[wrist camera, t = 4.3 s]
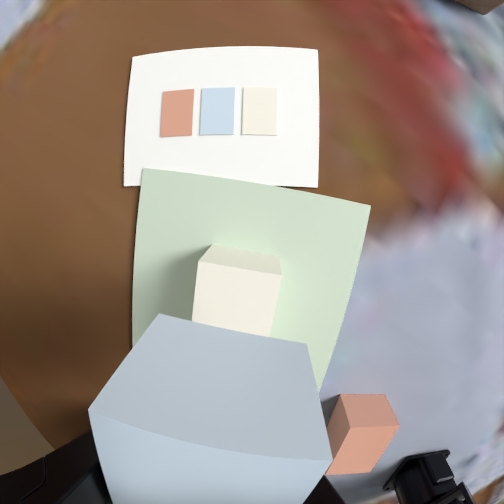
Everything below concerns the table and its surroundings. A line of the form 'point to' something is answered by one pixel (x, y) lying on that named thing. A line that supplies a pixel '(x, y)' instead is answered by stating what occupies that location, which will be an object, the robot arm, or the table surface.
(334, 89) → the table surface
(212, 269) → the brick cream
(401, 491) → the robot arm
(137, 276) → the baseplate
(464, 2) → the wooden block set
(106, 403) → the brick blue
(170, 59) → the page
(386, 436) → the brick rust
